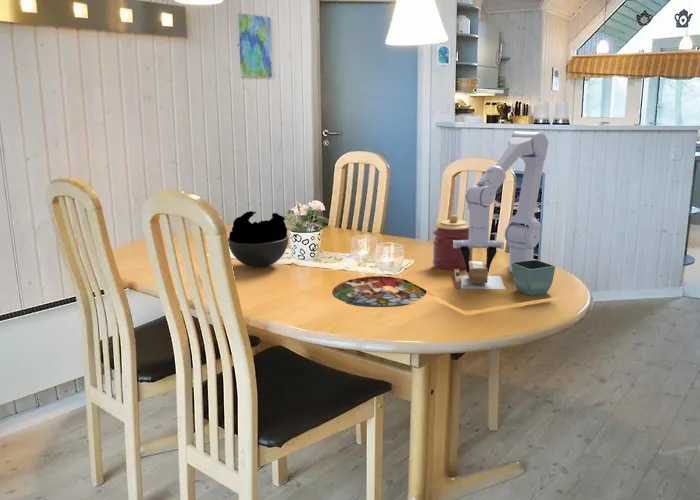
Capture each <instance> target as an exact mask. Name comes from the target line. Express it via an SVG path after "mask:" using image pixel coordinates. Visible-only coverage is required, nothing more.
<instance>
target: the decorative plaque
mask: <svg viewBox="0 0 700 500" xmlns="http://www.w3.org/2000/svg"><path fill="white" fill-rule="evenodd" d="M385 287H391V288H393V289H394V290H396V292H393V291H391V290H386V288H385ZM427 292H428V291H427V290H426V288H423V287H421V286H418V285H417V284H415V283H413V282H411V281H409V280H407V279H404V278H399V277H394V276H384V275H376V276H374V275H372V276H371V275H370V276H363V277H362V276H361V277H357V278H352V279H349V280H345V281H342V282H340V283H339V284H337V285H336V286H334V287H333V289H332V291H331V294H332V296H333V297H334V298H336V299H337V300H339V301H341V302H343V303H346V304H348V305H354V306H364V307H397V306H399V307H400V306H407V305H408V304H410V305H411V304H413V303H414V302H416V301H418V300H420V299H422V298H424V297H425V296H426V295H427Z"/></svg>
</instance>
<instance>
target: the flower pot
mask: <svg viewBox="0 0 700 500" xmlns="http://www.w3.org/2000/svg"><path fill="white" fill-rule="evenodd" d="M511 264H512V272H511V274H512V280H513V283H514V286H515V288H516V290H517V291H518V292H521V293H523V294H525V295H527V296H536V295H545V294H547V293H548V292H549V290H550V289H551V287H552V284H553V280H554V275H555V271H556V265H554V264H550V263H547V262H544V261H542V260H538V259H533V260H529V261H521V262H513V263H511Z"/></svg>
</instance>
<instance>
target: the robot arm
mask: <svg viewBox="0 0 700 500" xmlns="http://www.w3.org/2000/svg"><path fill="white" fill-rule="evenodd" d="M507 142H508V143H507V144H508V146H507V148H506V149H505V151H504V152H503V154H502V155H501V156H500V158H499V160H498V161H497V163H496V165H492V166H488V168H487V169H486V171H485V172H484V174H483V175H482V176H481V178H480V179H479V181H477V183H476V184H474V185H471V186H470V187H469V188H468V189H467V191H466V194H465V195H464V198H465V202H466V203H467V209H468V211H469V213H468V214H469V215H468V218H469V219H468V220H469V221H468V224H469V240H453V248H460V249H461V253H462V255H463V257H464V260H465V264H466V269H465V271H466V273H468V272H469V248H473V249H486V260H485V263H486V266H487V269H488V274H489V272H490V268H491V264H492V262H493V260H494V257H495V256H496V254H497V251H498V250H497V249H501V250H503V249H504V247H505V242H504V241H503V240H491V239H489V234H490V210H491V209H490V207H491V205H492V204H494V202H495V199H496V198H495V197H496V194H497V191H498V190H499V188H500V186H501V185H502V184H503V183H504V182H505V181H506V178H507V176H506V173H507V171H508V170H509V169H510V168H511V167H512V166H513V165H514V163H516V162H517V160H518V159H521V160H522V161H523V163H524V164H525V165H524V170H523V171H524V172H523V176H522V182H521V187H520V192H519V198H518V205H517V209H516V214H514V215H513V216H512V217H510V218H509V219H508V223H507V226H506V228H505V230H504V239H505V241H506V242H507V245H508V246H509V259H508V271H509V272H510V273H512V264H511V263H513V262H521V261H529V260H534V249H535V248H537V245H538V244H539V242H540V240H541V223H540V221H539V220H538V219H537V218H536V217H535V214H536V207H537V202H538V197H539V192H540V187H541V181H542V175H543V174H542V173H543V169H544V164H545V161H546V157H547V152H548V146H549V139H548V138H547V136H546V134H545V132H542V131H539V132H538V131H537V132H533V131H520V130H519V131H514V132H513V133H512V135H511V136H510V137H509V138H508V140H507Z"/></svg>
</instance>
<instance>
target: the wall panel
mask: <svg viewBox="0 0 700 500" xmlns="http://www.w3.org/2000/svg"><path fill="white" fill-rule="evenodd" d="M453 276H454V277H453V278H454V284H455V288H456V289H469V290H470V289H471V290H472V289H475V290H478V289H479V290H481V289H482V290H506V287H505V285H504V281H503V279H502V277H501V276H500V275H488V279H487V283H470V281H469V277H468V275H465V274H464V275H463V274H462V275H461V272H460V270H459V269H454V270H453Z"/></svg>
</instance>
